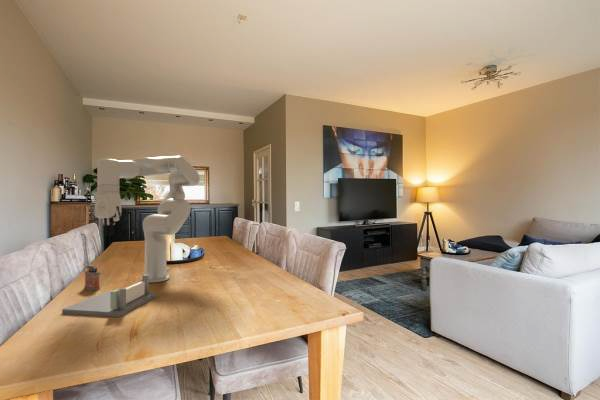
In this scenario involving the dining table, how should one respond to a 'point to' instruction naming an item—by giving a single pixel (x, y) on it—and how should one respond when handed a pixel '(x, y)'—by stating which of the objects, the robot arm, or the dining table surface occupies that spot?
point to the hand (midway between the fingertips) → (108, 234)
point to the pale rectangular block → (127, 294)
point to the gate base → (101, 303)
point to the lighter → (92, 278)
